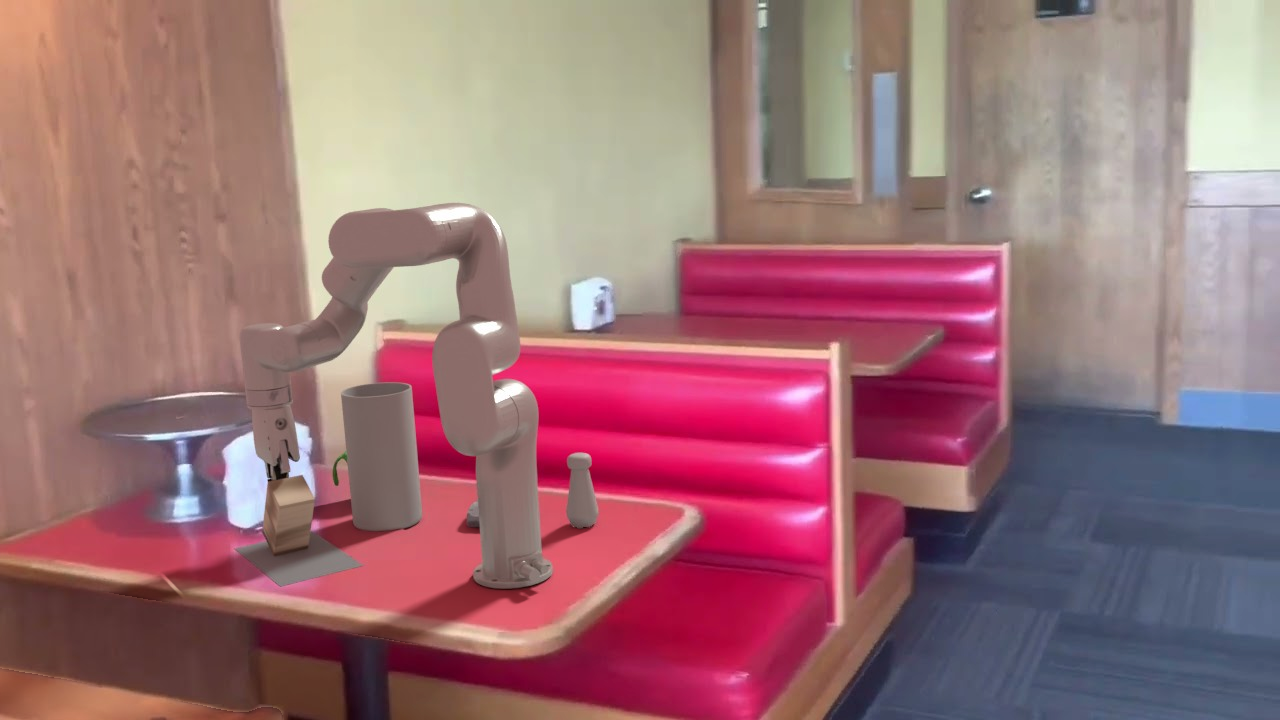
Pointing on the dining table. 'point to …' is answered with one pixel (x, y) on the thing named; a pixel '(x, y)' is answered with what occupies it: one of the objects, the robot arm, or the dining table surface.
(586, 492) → the salt shaker
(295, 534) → the birch block
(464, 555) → the dining table surface
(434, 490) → the dining table surface
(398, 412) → the cylinder vase
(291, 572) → the slate mat
